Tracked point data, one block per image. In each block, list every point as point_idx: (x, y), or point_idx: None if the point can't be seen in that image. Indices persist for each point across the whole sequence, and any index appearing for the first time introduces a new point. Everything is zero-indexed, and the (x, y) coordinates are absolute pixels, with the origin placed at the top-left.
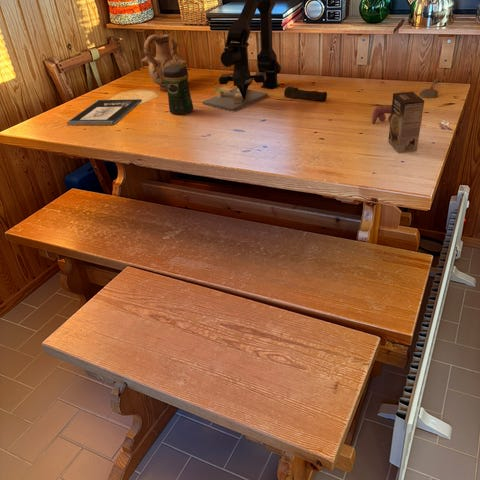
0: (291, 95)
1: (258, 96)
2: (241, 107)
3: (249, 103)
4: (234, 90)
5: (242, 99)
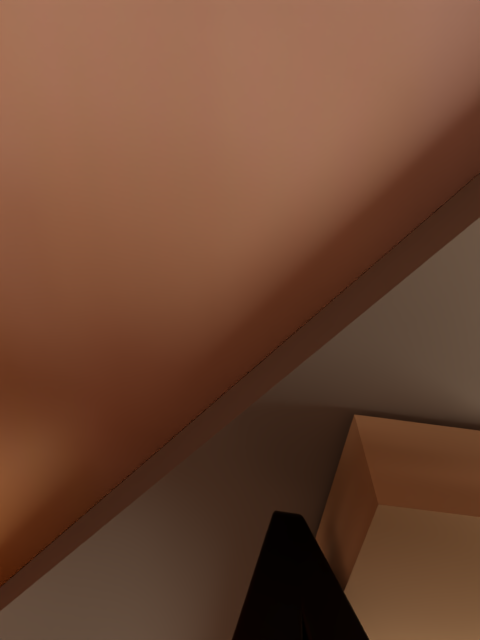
0: None
1: (55, 606)
2: (363, 278)
3: (193, 430)
4: None
5: (322, 538)
